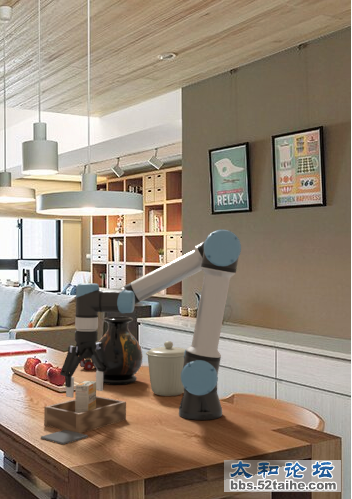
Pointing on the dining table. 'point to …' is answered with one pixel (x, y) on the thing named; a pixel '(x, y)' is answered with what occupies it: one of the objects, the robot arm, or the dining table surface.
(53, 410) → the crate
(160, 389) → the canister
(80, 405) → the supplement box
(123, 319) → the black painted vase
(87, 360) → the toy fire truck
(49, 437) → the mat
